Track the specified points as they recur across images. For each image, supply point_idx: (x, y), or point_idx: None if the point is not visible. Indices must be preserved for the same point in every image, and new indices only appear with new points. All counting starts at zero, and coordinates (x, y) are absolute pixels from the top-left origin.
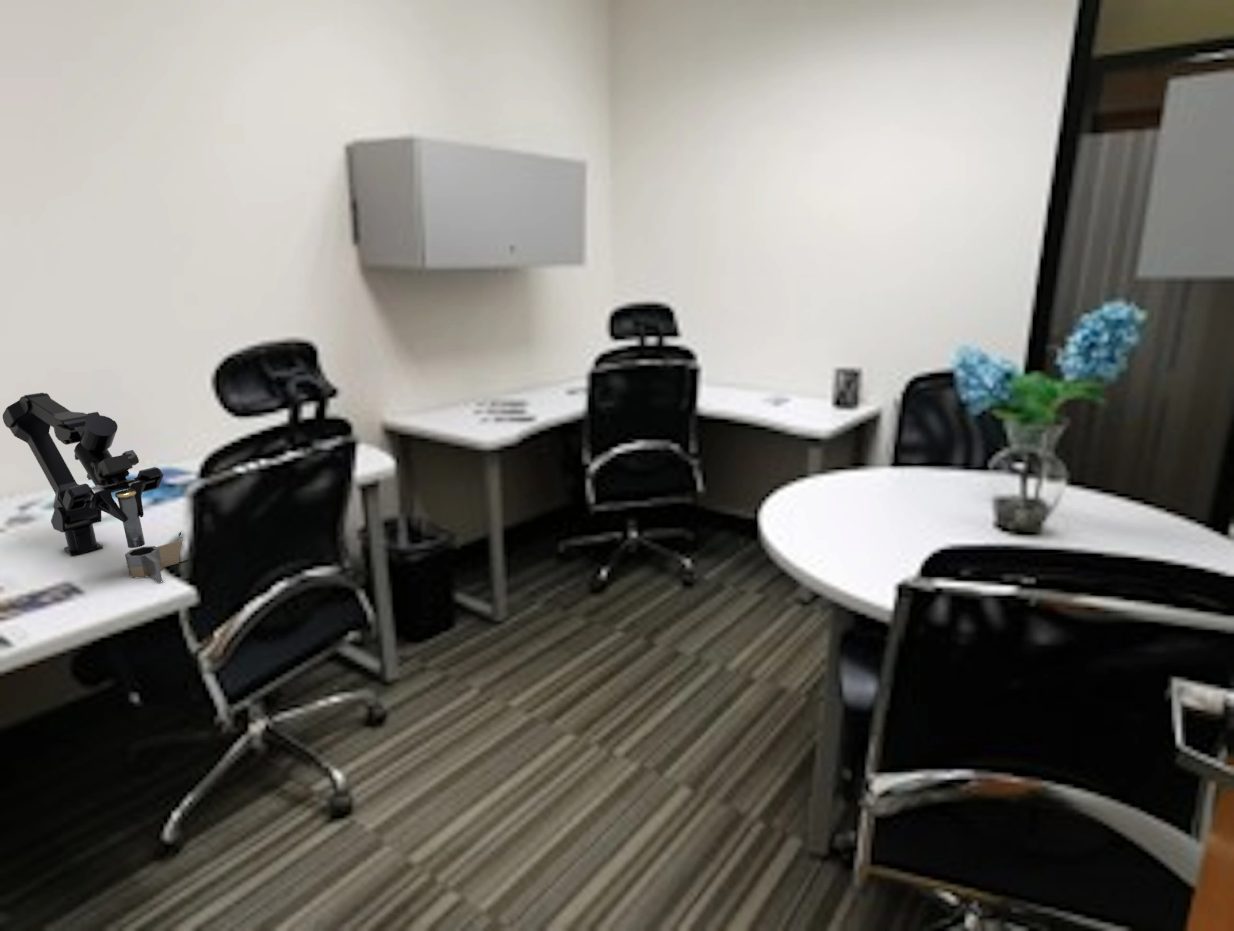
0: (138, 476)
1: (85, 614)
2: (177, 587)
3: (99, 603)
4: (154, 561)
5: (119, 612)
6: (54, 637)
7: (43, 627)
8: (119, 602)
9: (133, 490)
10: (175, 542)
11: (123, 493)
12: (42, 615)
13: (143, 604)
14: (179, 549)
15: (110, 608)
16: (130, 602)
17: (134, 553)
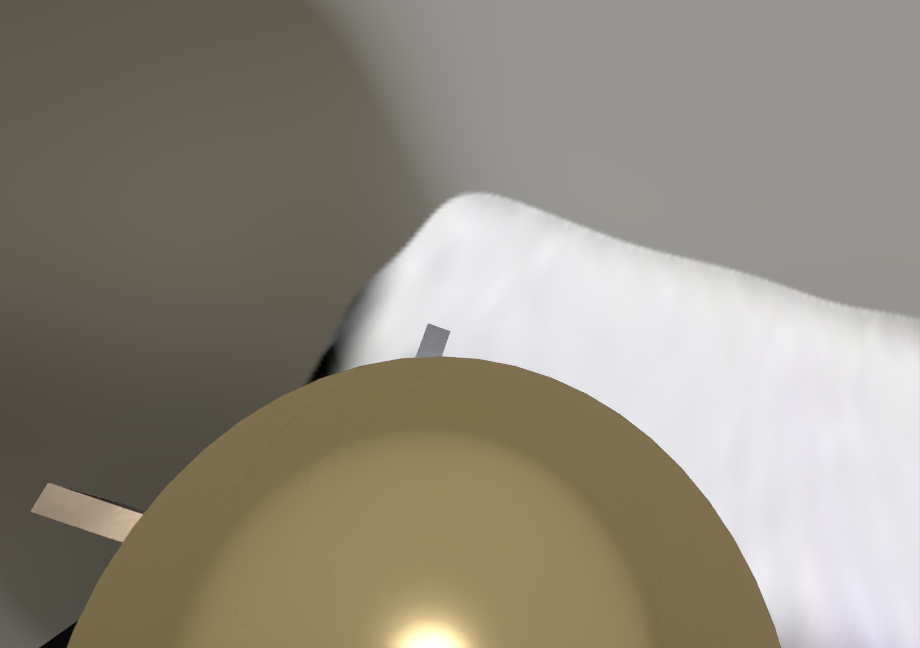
0: None
1: (763, 396)
2: (431, 257)
3: (687, 442)
4: (442, 338)
5: (680, 284)
6: (890, 327)
7: (900, 447)
8: (636, 365)
9: (143, 630)
10: (106, 513)
11: (571, 634)
12: (880, 578)
13: (597, 256)
14: (120, 505)
15: (683, 349)
16: (613, 320)
17: None
